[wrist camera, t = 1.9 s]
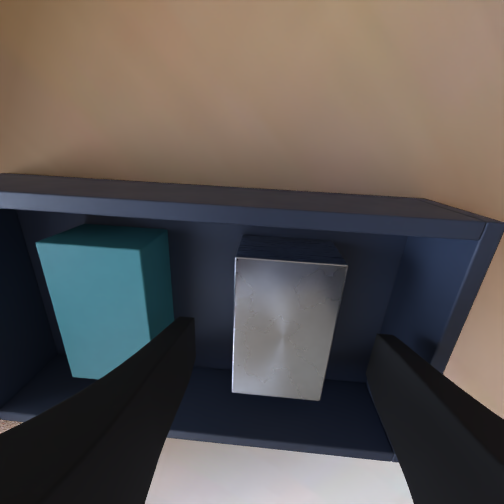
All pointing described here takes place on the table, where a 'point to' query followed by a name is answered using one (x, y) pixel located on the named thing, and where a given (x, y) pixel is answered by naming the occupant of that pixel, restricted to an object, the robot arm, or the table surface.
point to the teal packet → (107, 292)
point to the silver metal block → (284, 315)
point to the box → (222, 297)
